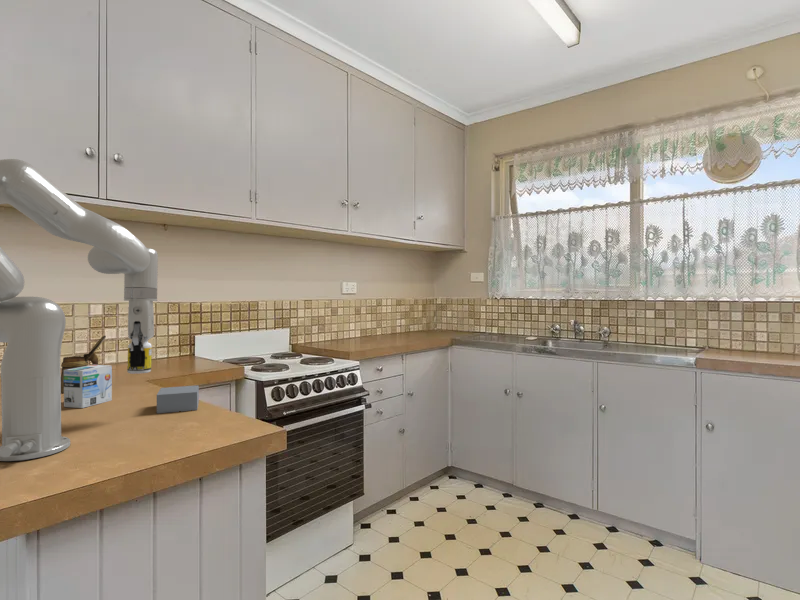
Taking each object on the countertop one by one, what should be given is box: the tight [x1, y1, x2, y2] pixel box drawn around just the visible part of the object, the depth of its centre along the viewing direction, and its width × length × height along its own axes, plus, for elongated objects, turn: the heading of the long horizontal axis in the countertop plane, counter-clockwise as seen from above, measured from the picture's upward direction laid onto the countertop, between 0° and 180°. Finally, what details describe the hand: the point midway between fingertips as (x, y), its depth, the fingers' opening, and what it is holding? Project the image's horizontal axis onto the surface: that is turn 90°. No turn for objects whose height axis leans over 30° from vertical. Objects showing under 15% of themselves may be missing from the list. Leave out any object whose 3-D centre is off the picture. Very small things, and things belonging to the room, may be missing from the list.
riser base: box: [156, 385, 200, 414], centre depth 131 cm, size 10×10×5 cm
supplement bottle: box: [126, 335, 153, 375], centre depth 119 cm, size 5×5×10 cm
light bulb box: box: [63, 364, 113, 409], centre depth 135 cm, size 11×7×11 cm, turn 168°
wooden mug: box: [60, 335, 107, 394], centre depth 155 cm, size 9×14×18 cm, turn 127°
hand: (139, 364), depth 119 cm, fingers closed on supplement bottle, 5 cm apart
